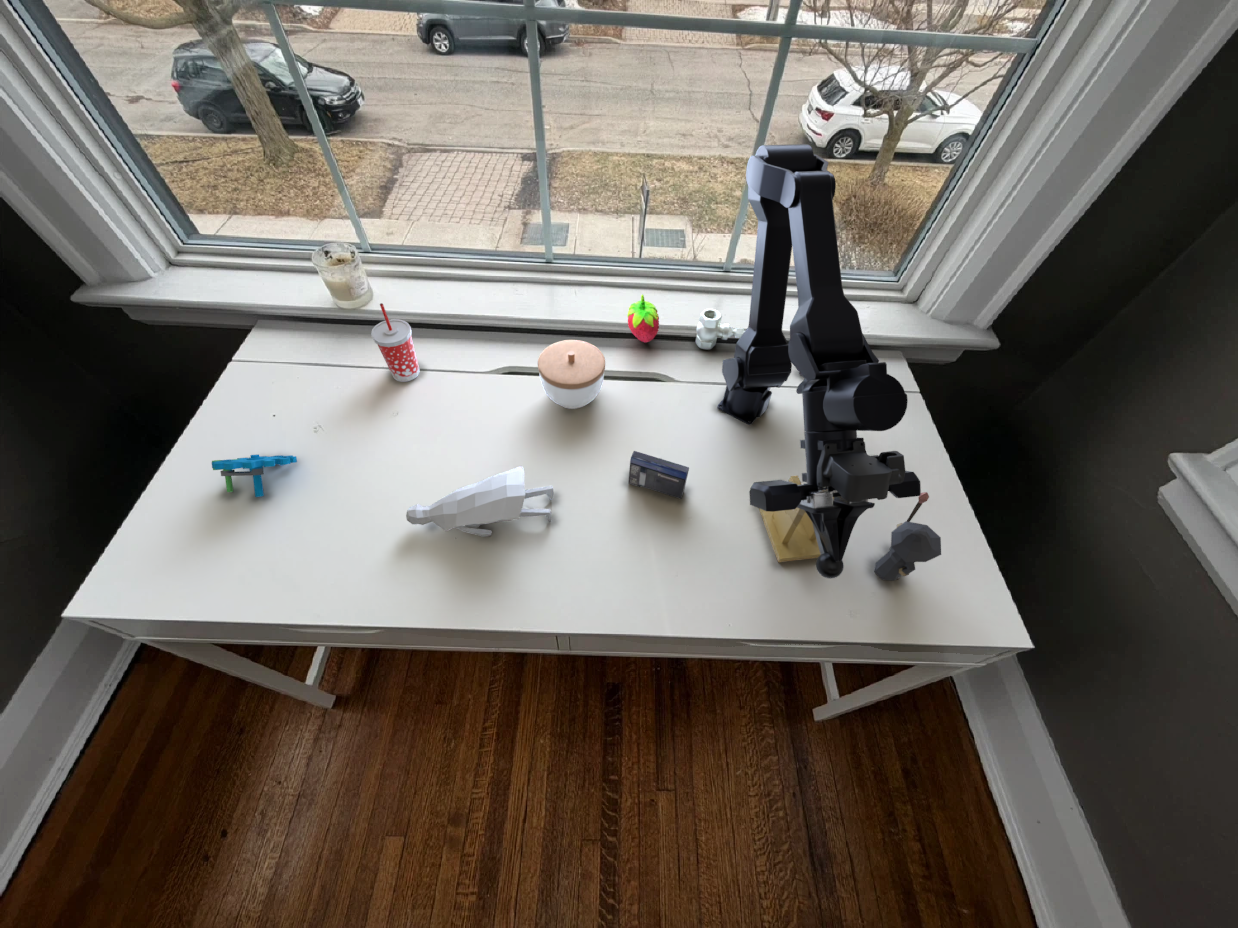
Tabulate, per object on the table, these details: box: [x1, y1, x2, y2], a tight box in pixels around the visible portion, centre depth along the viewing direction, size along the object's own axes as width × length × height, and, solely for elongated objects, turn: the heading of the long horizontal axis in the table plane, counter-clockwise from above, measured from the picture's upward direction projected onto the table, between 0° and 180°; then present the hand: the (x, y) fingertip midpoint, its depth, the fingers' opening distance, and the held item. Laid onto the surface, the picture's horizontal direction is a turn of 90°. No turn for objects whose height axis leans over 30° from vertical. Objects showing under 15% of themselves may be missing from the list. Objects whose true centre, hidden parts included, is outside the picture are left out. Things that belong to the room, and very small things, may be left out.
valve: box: [695, 308, 746, 351], centre depth 99 cm, size 7×7×12 cm
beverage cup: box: [370, 303, 421, 383], centre depth 89 cm, size 6×6×14 cm
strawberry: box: [626, 294, 660, 343], centre depth 98 cm, size 6×7×10 cm
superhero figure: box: [405, 465, 554, 537], centre depth 74 cm, size 10×9×20 cm
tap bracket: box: [758, 475, 834, 563], centre depth 73 cm, size 9×7×11 cm
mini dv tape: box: [628, 450, 690, 500], centre depth 79 cm, size 8×2×6 cm, turn 70°
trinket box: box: [537, 339, 606, 410], centre depth 89 cm, size 11×11×9 cm
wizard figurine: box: [873, 491, 942, 581], centre depth 70 cm, size 8×6×12 cm
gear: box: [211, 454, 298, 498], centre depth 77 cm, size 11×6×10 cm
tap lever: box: [805, 482, 845, 579], centre depth 69 cm, size 12×3×3 cm, turn 8°
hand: (836, 560), depth 65 cm, fingers closed, pressing on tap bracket
